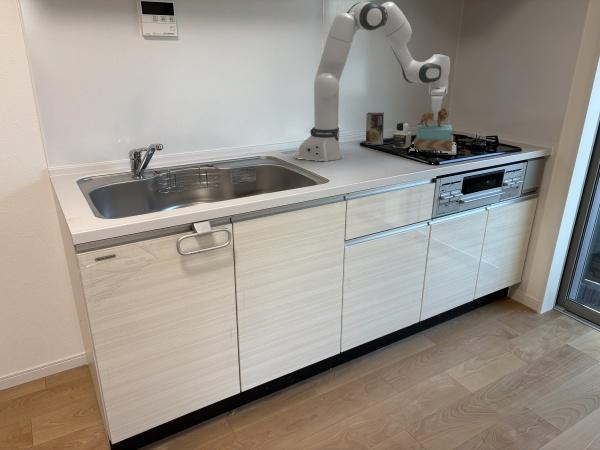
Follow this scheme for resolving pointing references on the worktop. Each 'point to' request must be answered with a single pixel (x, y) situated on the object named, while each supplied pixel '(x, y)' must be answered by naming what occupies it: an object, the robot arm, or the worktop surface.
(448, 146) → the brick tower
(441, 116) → the lion figurine
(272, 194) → the worktop surface
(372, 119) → the coffee box
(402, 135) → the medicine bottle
